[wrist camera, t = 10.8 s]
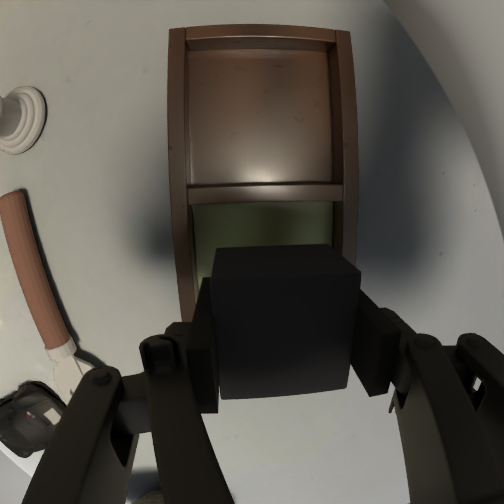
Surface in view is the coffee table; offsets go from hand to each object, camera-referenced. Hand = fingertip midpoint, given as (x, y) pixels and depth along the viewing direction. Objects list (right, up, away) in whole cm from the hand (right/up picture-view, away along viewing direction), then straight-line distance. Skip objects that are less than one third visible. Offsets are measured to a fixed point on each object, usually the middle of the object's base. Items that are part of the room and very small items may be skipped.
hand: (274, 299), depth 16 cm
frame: (0, +6, +4) cm, 8 cm away
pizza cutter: (-17, -3, +6) cm, 18 cm away
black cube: (0, 0, 0) cm, 0 cm away
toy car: (-26, -16, +9) cm, 32 cm away
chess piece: (-19, +12, +2) cm, 22 cm away
